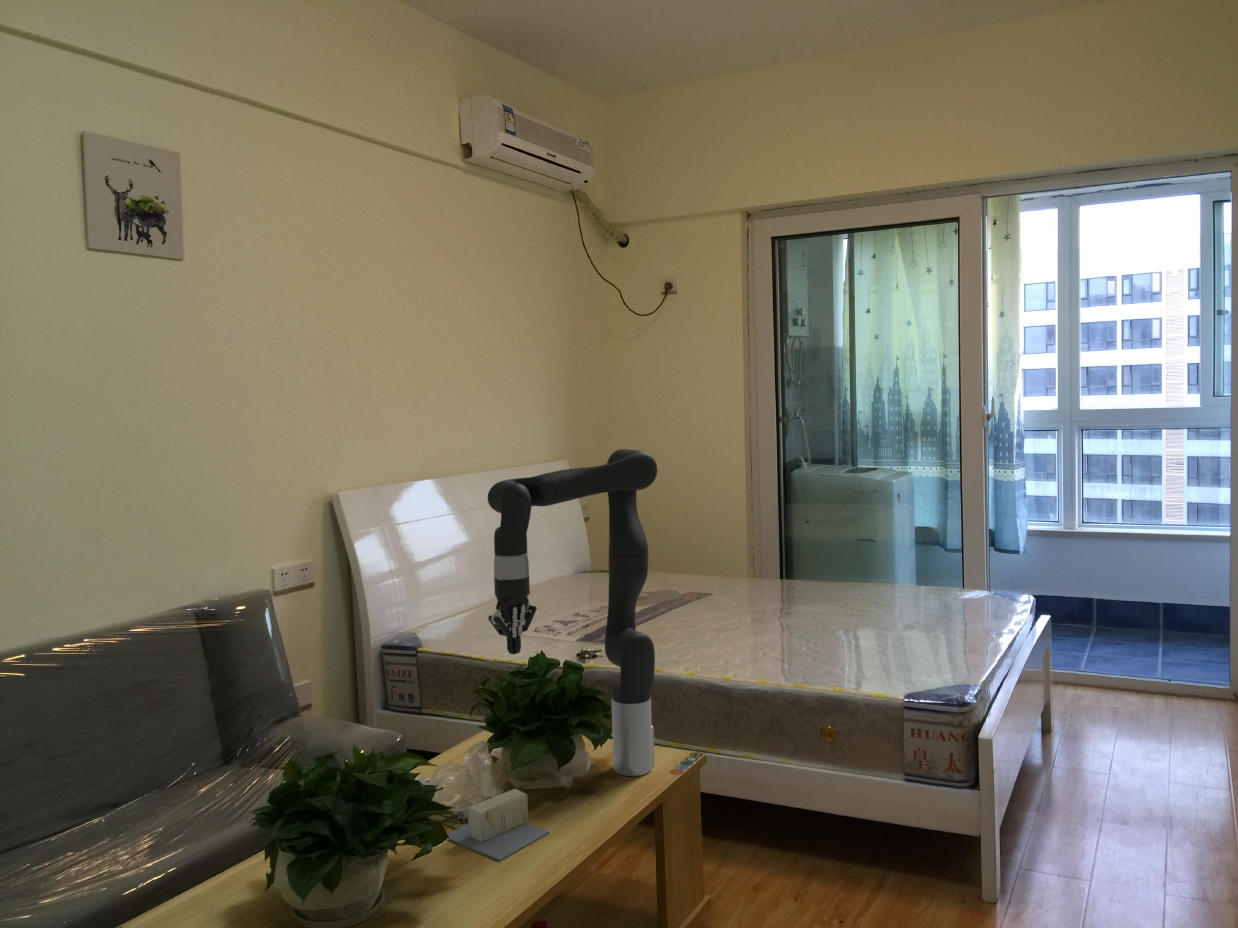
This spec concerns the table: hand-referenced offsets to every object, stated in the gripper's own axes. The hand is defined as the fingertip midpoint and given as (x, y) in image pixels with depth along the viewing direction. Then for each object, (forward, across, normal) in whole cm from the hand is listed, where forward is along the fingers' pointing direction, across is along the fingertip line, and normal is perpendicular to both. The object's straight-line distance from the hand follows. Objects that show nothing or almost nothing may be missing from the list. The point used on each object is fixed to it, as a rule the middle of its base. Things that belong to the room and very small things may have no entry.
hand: (514, 653), depth 208 cm
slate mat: (+33, +14, +8) cm, 37 cm away
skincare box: (+29, +7, +8) cm, 31 cm away
